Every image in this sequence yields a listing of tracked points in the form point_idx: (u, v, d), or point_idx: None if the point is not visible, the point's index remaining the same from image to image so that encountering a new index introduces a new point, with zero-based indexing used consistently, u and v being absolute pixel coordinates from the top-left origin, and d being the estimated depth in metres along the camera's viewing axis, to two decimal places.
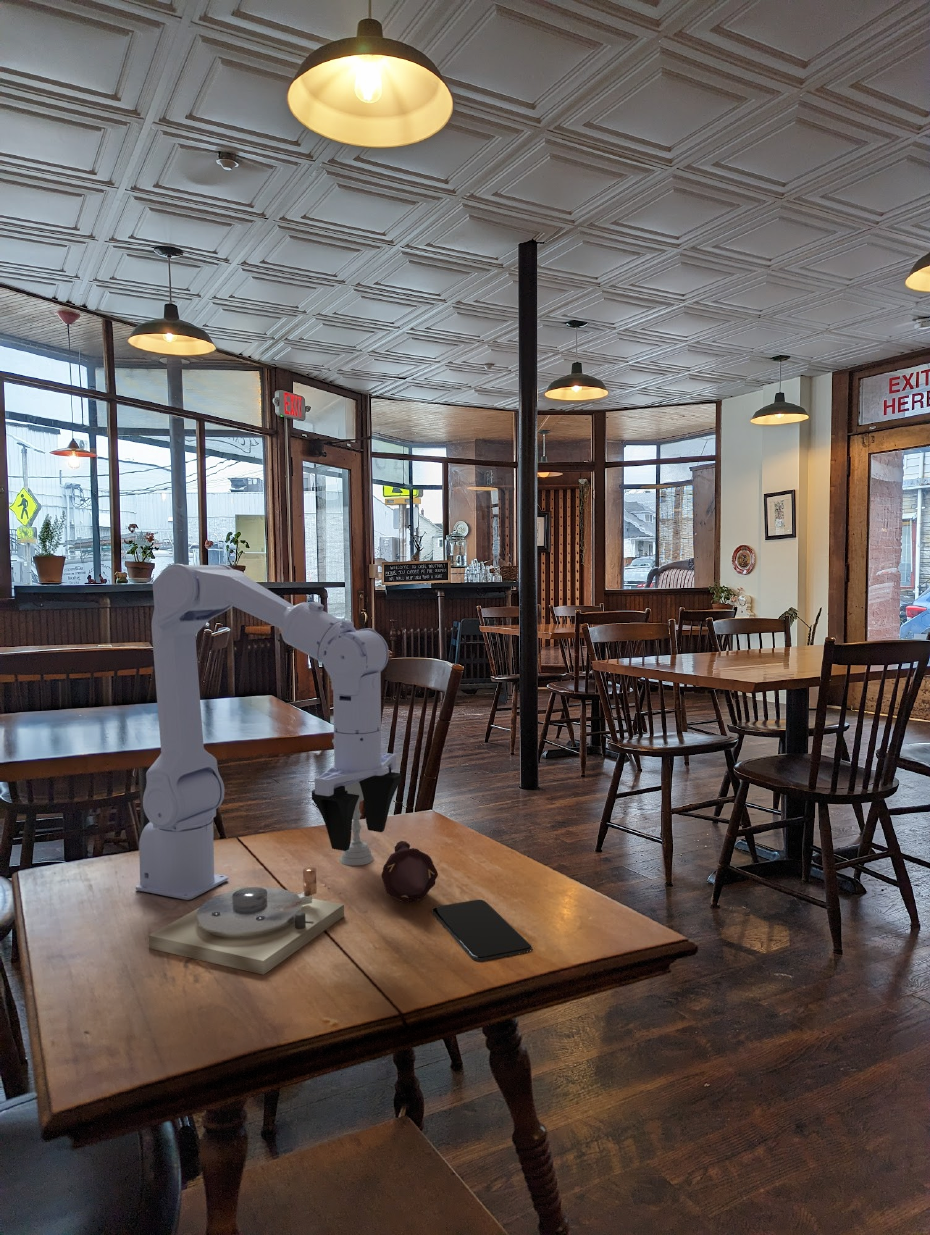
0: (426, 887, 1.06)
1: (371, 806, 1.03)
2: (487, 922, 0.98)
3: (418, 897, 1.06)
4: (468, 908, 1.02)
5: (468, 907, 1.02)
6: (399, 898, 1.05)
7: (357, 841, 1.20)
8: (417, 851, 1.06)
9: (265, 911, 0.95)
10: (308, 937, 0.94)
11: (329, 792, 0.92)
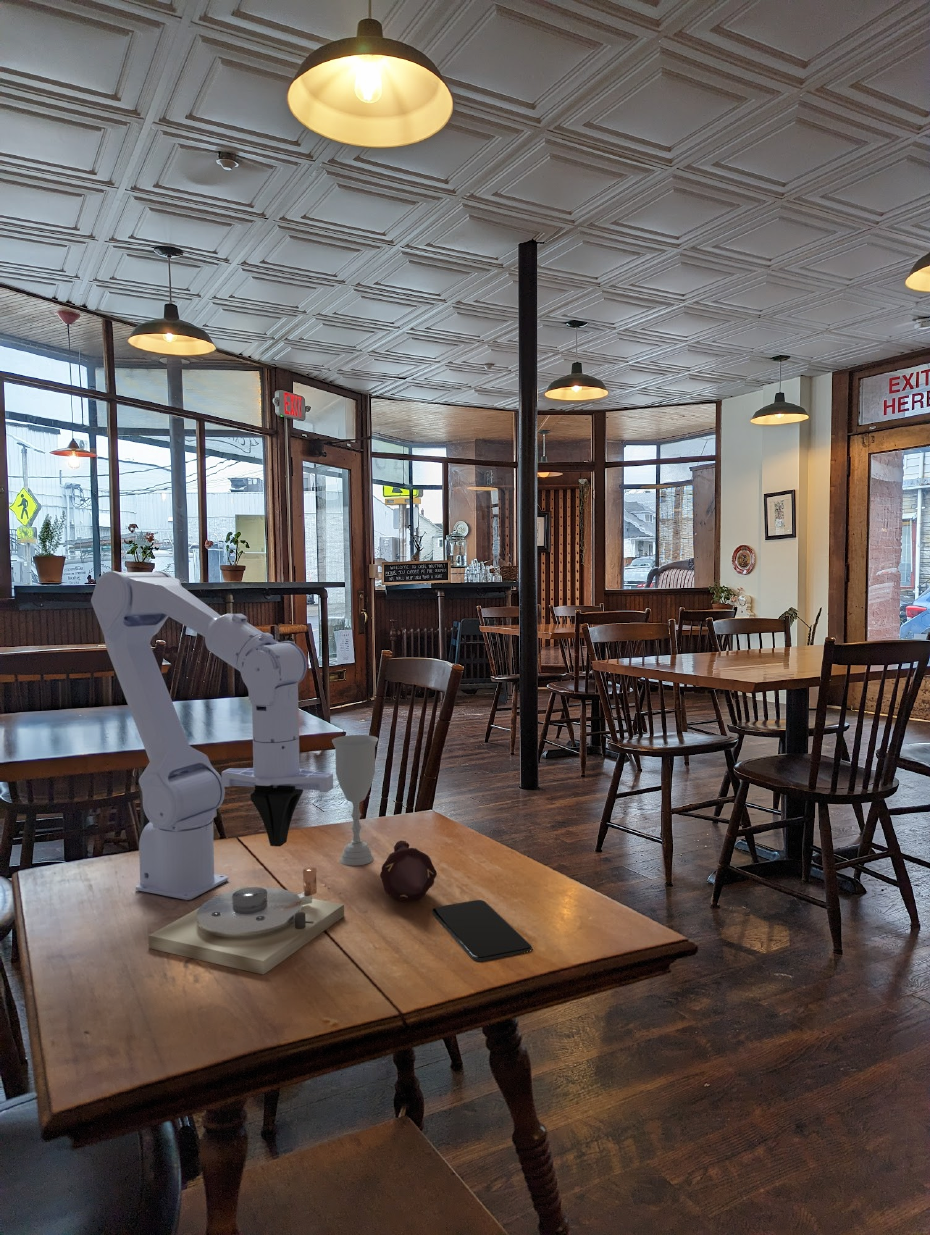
0: (425, 887, 1.06)
1: None
2: (487, 922, 0.98)
3: (417, 897, 1.06)
4: (467, 908, 1.02)
5: (468, 907, 1.02)
6: (398, 897, 1.05)
7: (357, 841, 1.20)
8: (416, 851, 1.06)
9: (265, 911, 0.95)
10: (308, 937, 0.94)
11: (222, 783, 1.04)
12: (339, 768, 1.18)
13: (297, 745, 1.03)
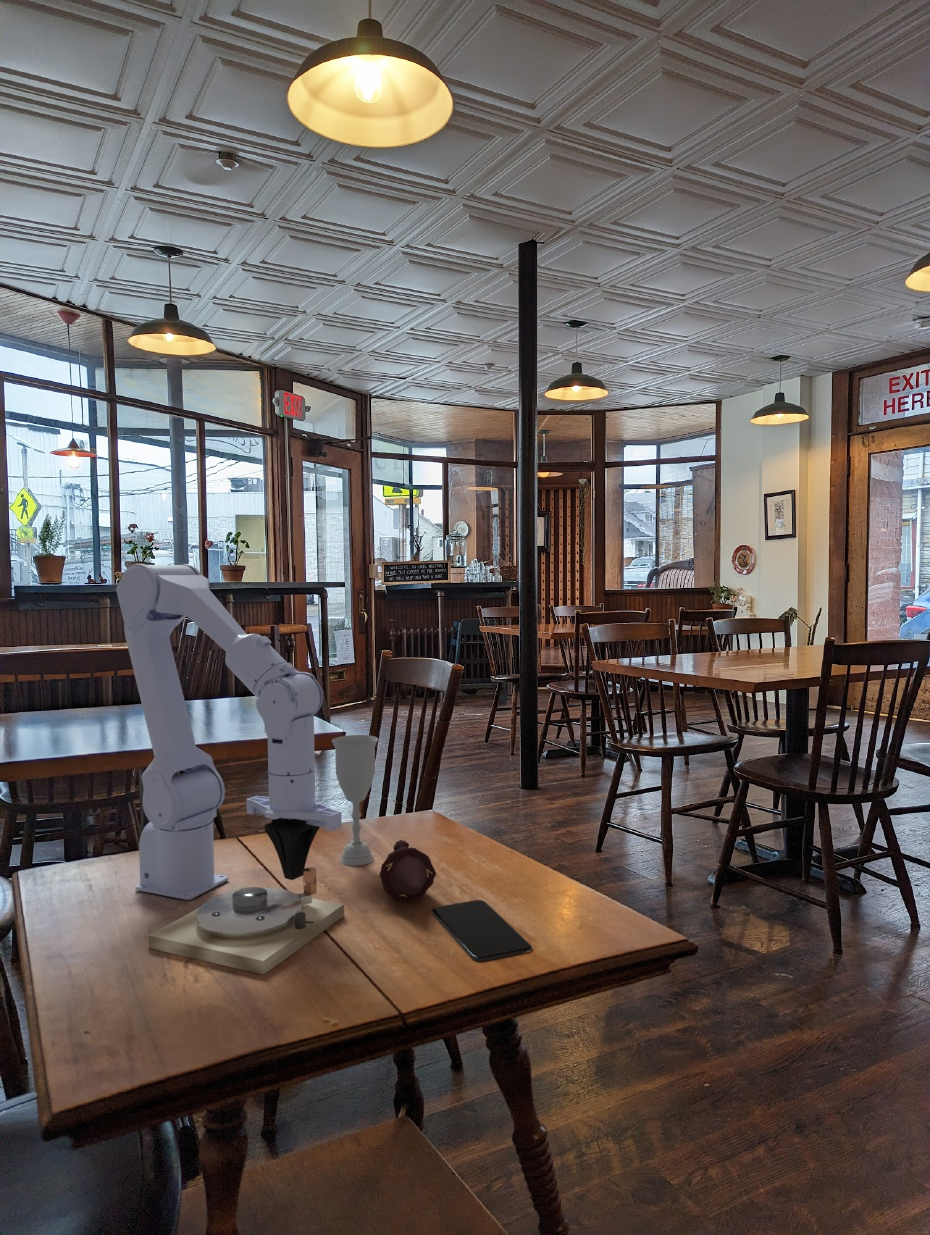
0: (424, 886, 1.06)
1: None
2: (487, 922, 0.98)
3: (416, 897, 1.06)
4: (467, 908, 1.02)
5: (468, 907, 1.02)
6: (397, 897, 1.05)
7: (357, 841, 1.20)
8: (415, 850, 1.06)
9: (265, 911, 0.95)
10: (308, 937, 0.94)
11: (247, 810, 1.05)
12: (339, 768, 1.18)
13: (309, 779, 1.01)
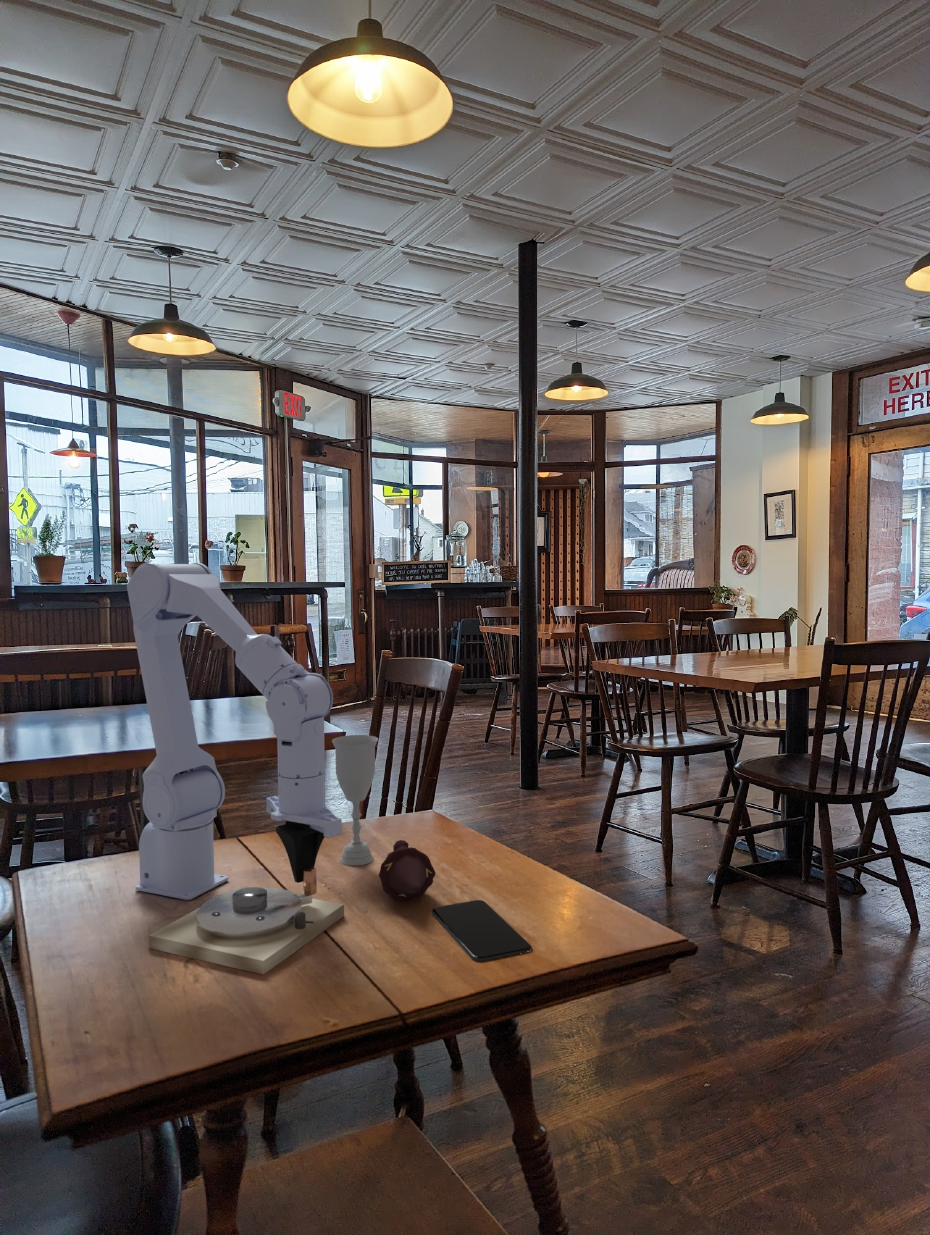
0: (424, 886, 1.06)
1: None
2: (487, 922, 0.98)
3: (416, 896, 1.06)
4: (467, 908, 1.02)
5: (468, 907, 1.02)
6: (397, 897, 1.05)
7: (357, 841, 1.20)
8: (415, 850, 1.06)
9: (265, 911, 0.95)
10: (308, 937, 0.94)
11: (266, 809, 1.06)
12: (339, 768, 1.18)
13: (315, 783, 0.99)
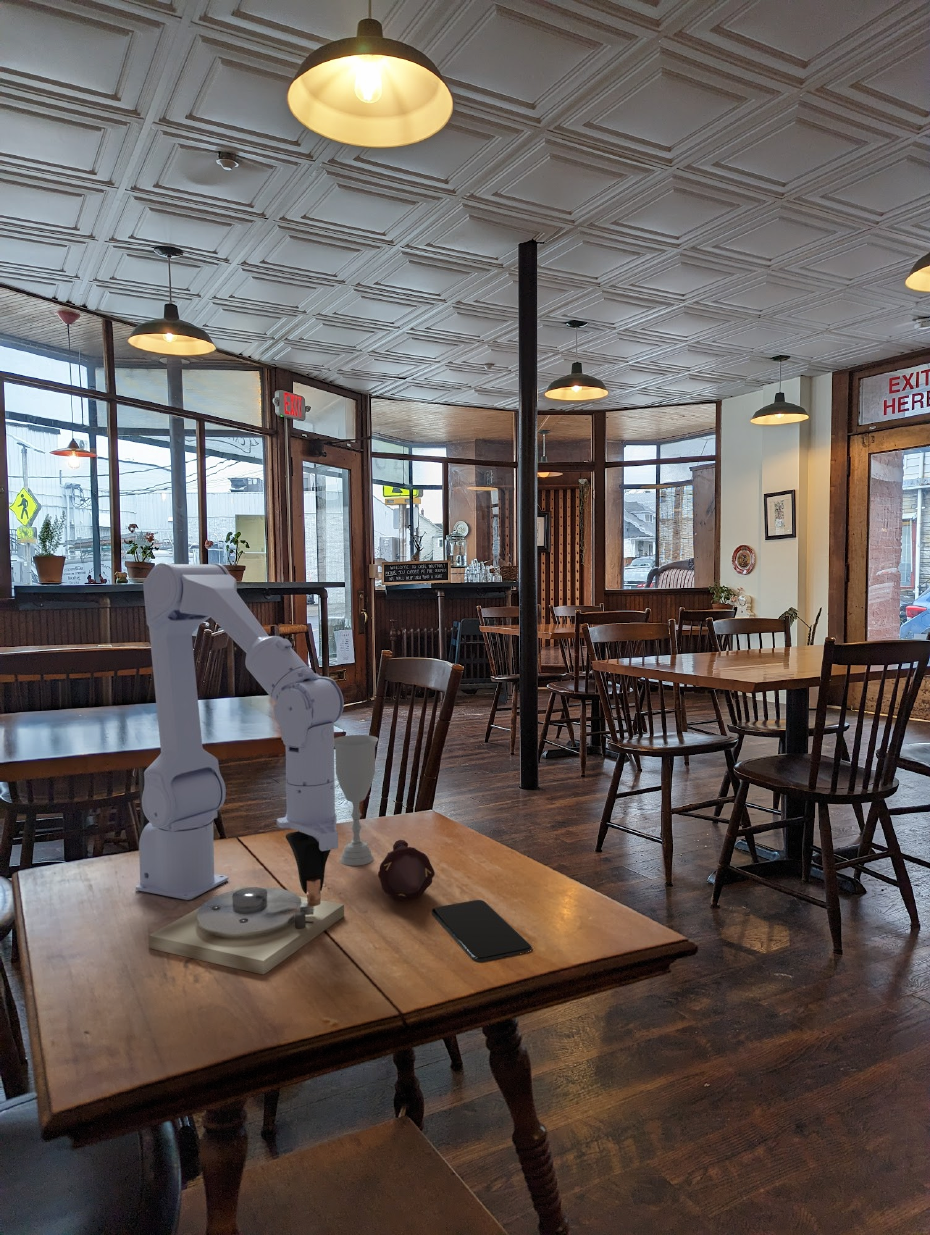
0: (423, 886, 1.07)
1: None
2: (487, 922, 0.98)
3: (415, 896, 1.06)
4: (467, 908, 1.02)
5: (468, 907, 1.02)
6: (396, 896, 1.06)
7: (357, 841, 1.20)
8: (414, 850, 1.06)
9: (256, 915, 0.94)
10: (308, 937, 0.94)
11: None
12: (339, 768, 1.18)
13: (319, 792, 0.95)
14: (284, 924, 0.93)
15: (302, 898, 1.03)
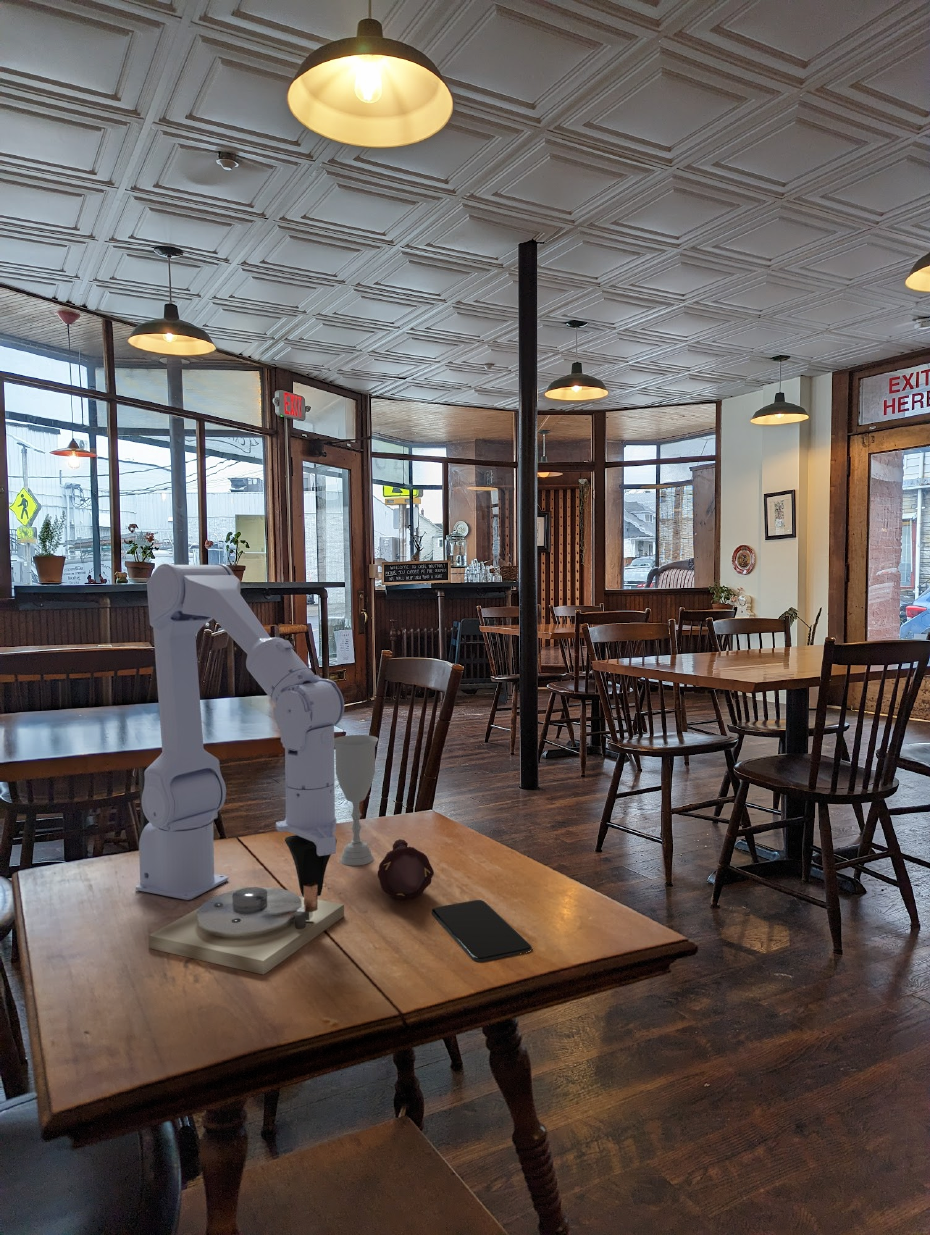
0: (422, 885, 1.07)
1: None
2: (487, 922, 0.98)
3: (414, 896, 1.06)
4: (467, 909, 1.02)
5: (467, 907, 1.02)
6: (395, 896, 1.06)
7: (357, 841, 1.20)
8: (413, 850, 1.07)
9: (250, 915, 0.94)
10: (308, 937, 0.94)
11: None
12: (339, 768, 1.18)
13: (318, 796, 0.94)
14: (275, 928, 0.92)
15: (302, 898, 1.03)
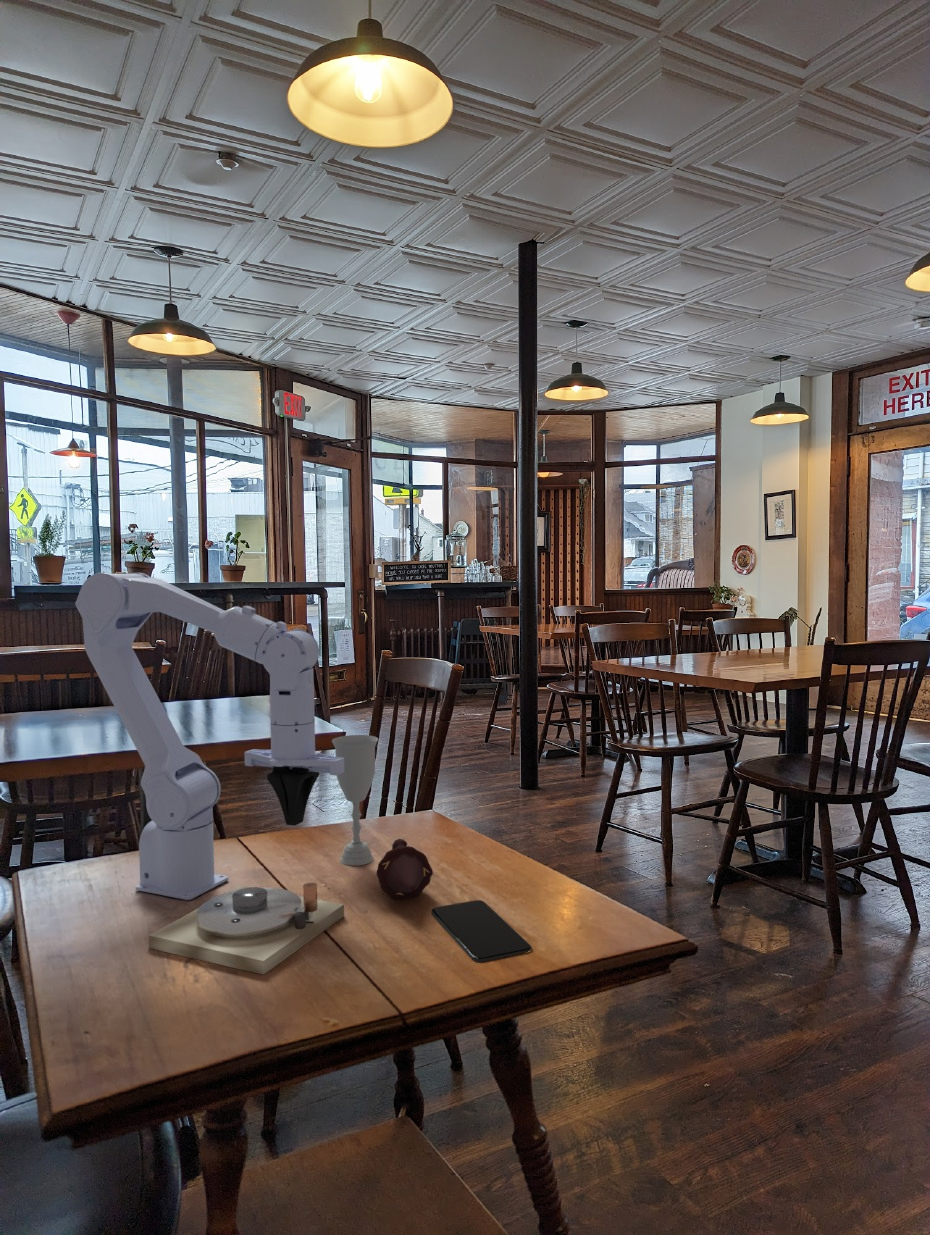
0: (421, 885, 1.07)
1: None
2: (486, 923, 0.98)
3: (413, 895, 1.06)
4: (467, 909, 1.02)
5: (467, 907, 1.02)
6: (394, 895, 1.06)
7: (357, 841, 1.20)
8: (412, 849, 1.07)
9: (250, 915, 0.94)
10: (308, 937, 0.94)
11: (245, 762, 1.10)
12: None
13: (311, 729, 1.06)
14: (274, 928, 0.92)
15: (302, 898, 1.03)
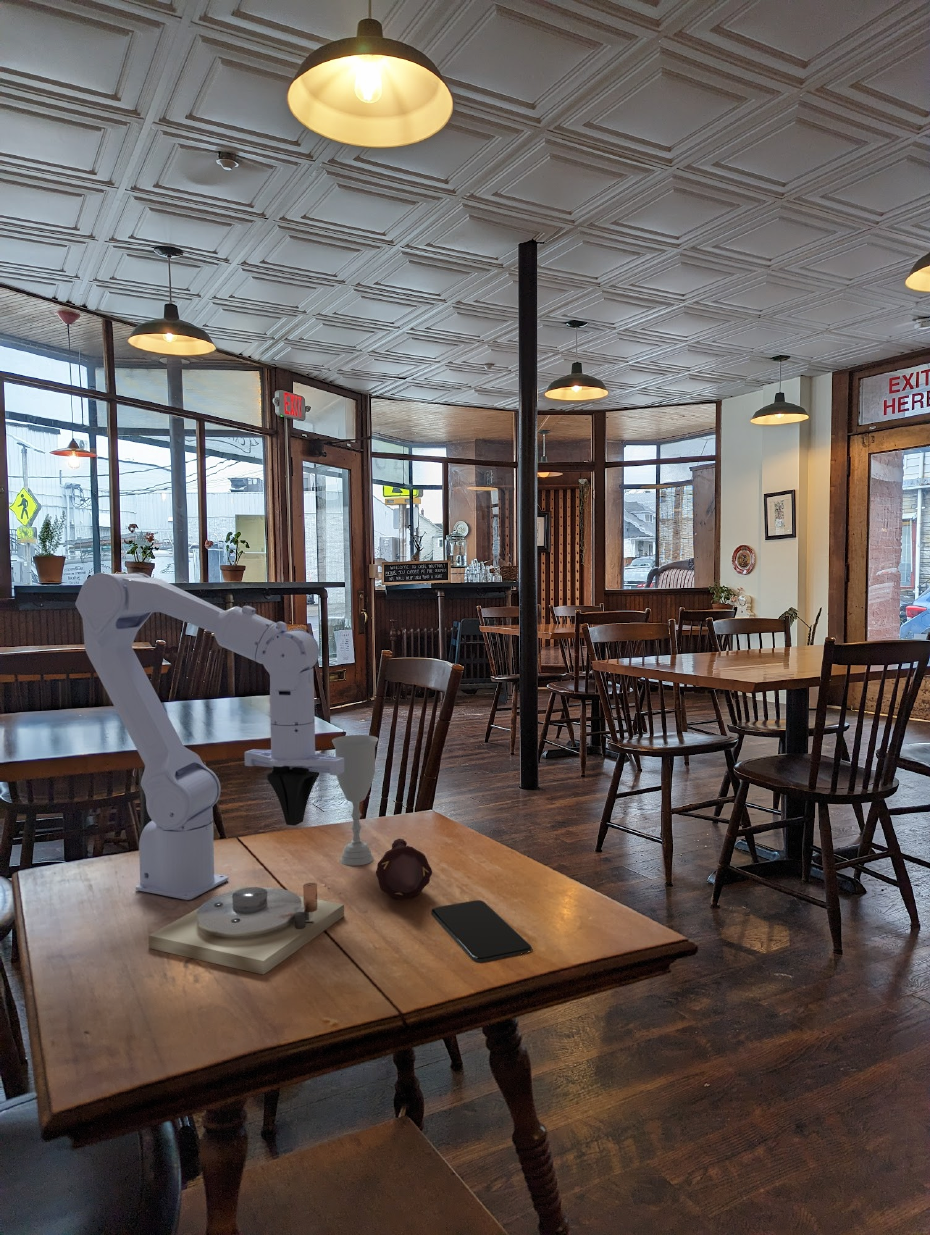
0: (420, 885, 1.07)
1: None
2: (486, 923, 0.98)
3: (412, 895, 1.07)
4: (467, 909, 1.02)
5: (467, 907, 1.02)
6: (393, 895, 1.06)
7: (357, 841, 1.20)
8: (411, 849, 1.07)
9: (250, 915, 0.94)
10: (308, 937, 0.94)
11: (245, 762, 1.10)
12: None
13: (311, 729, 1.06)
14: (274, 928, 0.92)
15: (302, 898, 1.03)
